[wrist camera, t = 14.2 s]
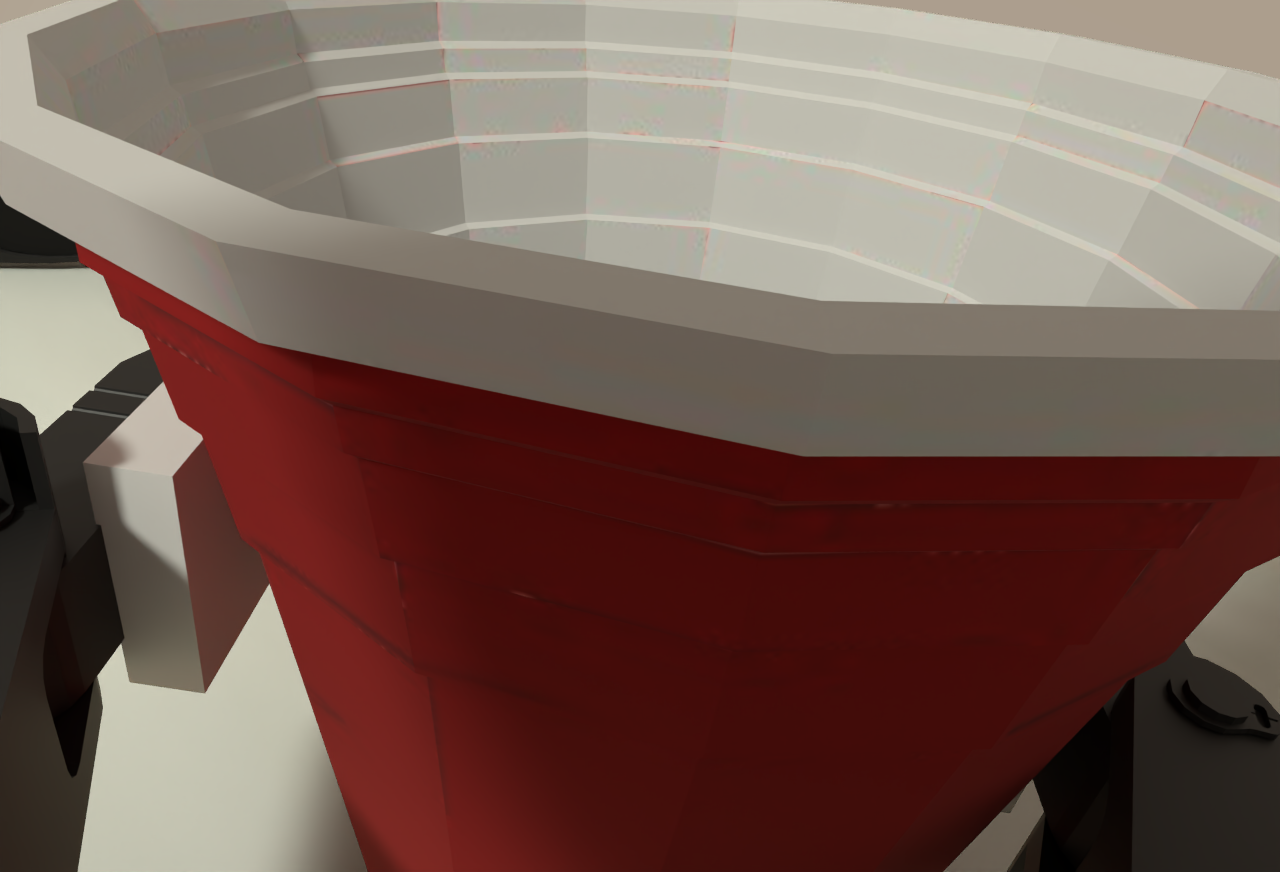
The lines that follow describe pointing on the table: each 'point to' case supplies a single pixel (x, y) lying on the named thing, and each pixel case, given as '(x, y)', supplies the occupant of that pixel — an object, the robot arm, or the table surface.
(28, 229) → the sunglasses
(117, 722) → the table surface
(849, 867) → the plastic cup
